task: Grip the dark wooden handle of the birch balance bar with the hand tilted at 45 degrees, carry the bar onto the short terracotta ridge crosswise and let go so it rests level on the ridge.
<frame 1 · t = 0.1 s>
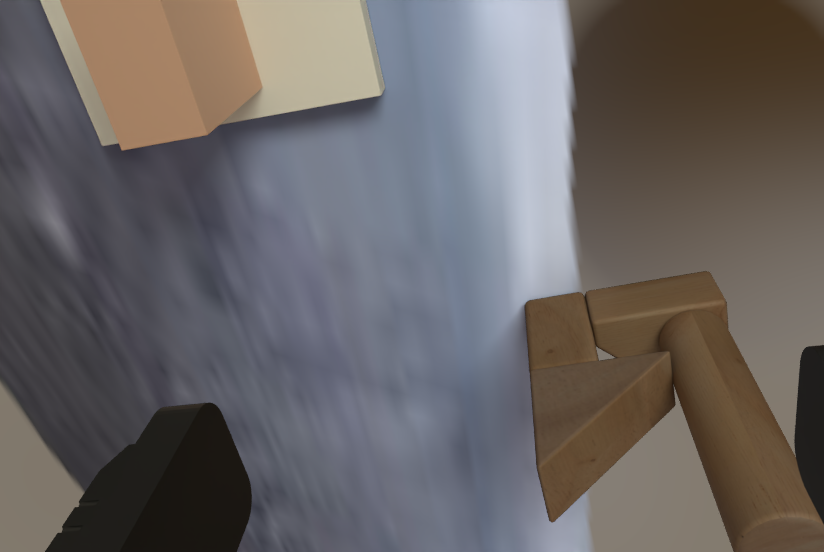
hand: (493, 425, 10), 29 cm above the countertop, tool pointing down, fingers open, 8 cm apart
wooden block: (617, 307, 42), on the countertop
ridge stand: (211, 10, 36), on the countertop
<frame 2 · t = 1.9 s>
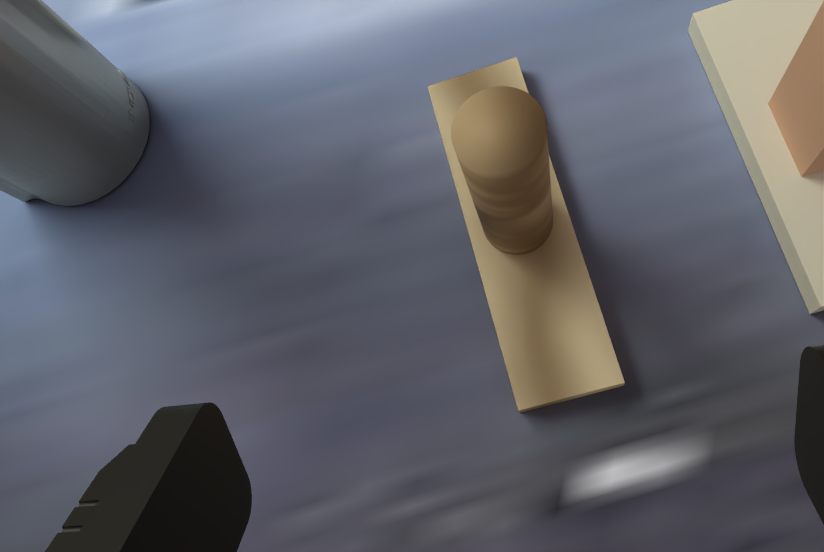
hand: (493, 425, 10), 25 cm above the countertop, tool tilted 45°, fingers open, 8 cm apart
balance bar: (519, 231, 36), on the countertop
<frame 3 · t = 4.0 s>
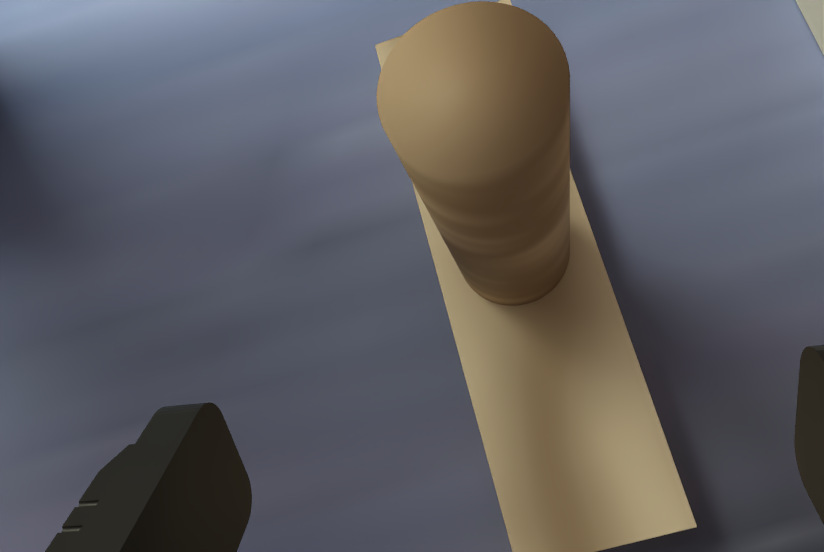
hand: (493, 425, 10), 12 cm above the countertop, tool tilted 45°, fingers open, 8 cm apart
balance bar: (516, 264, 23), on the countertop
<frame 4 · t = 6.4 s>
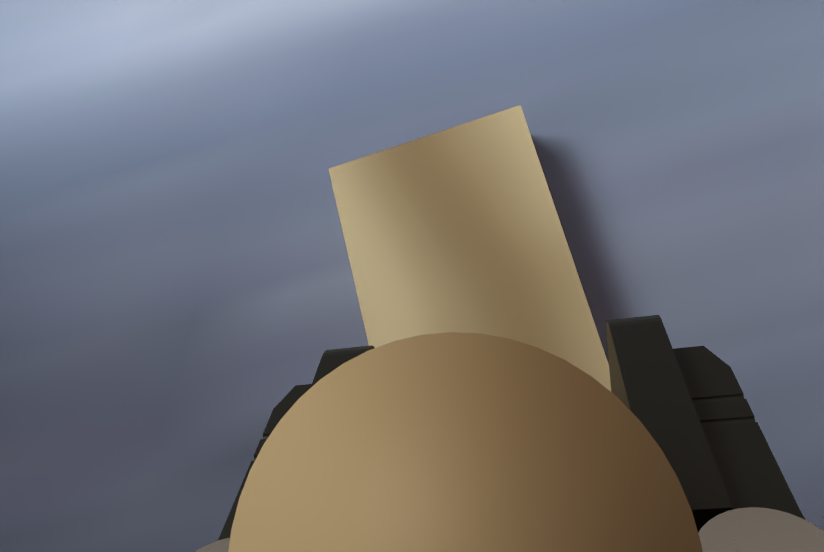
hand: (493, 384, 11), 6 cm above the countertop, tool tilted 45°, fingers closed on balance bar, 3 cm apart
balance bar: (531, 506, 16), on the countertop, touching gripper
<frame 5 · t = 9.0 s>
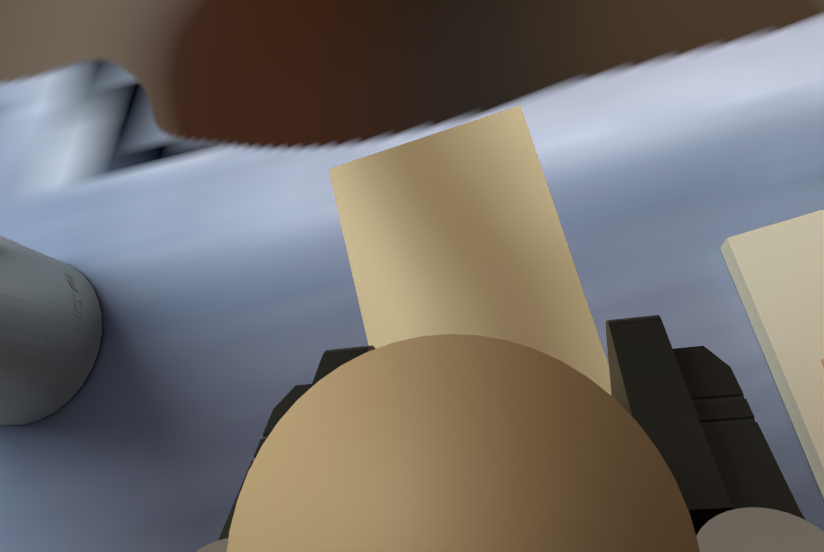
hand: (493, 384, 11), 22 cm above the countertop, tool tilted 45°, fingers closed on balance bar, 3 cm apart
balance bar: (531, 507, 16), point 16 cm above the countertop, touching gripper
when the fingers open (17 cm above the countertop, at t = 11.7 s): balance bar drops 1 cm, resting on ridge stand.
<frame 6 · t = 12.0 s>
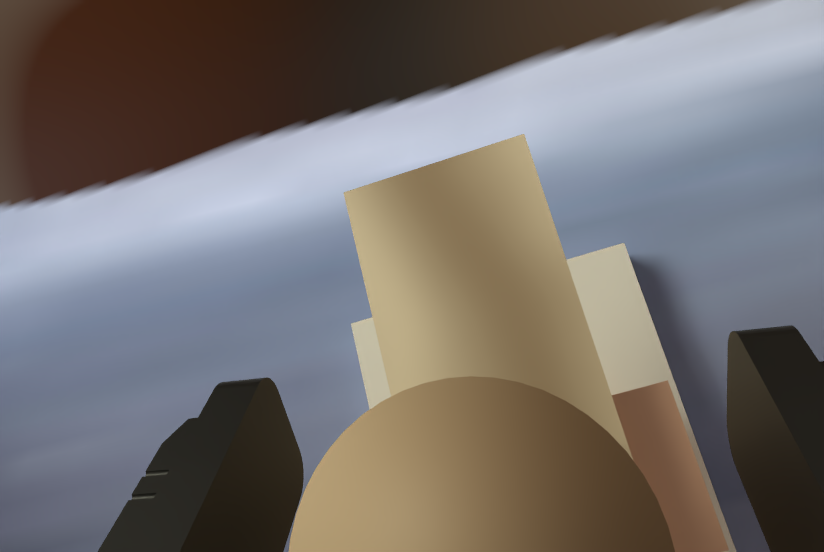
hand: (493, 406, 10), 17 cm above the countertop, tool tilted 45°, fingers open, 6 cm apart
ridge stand: (545, 493, 26), on the countertop
balance bar: (534, 510, 17), point 9 cm above the countertop, touching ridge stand
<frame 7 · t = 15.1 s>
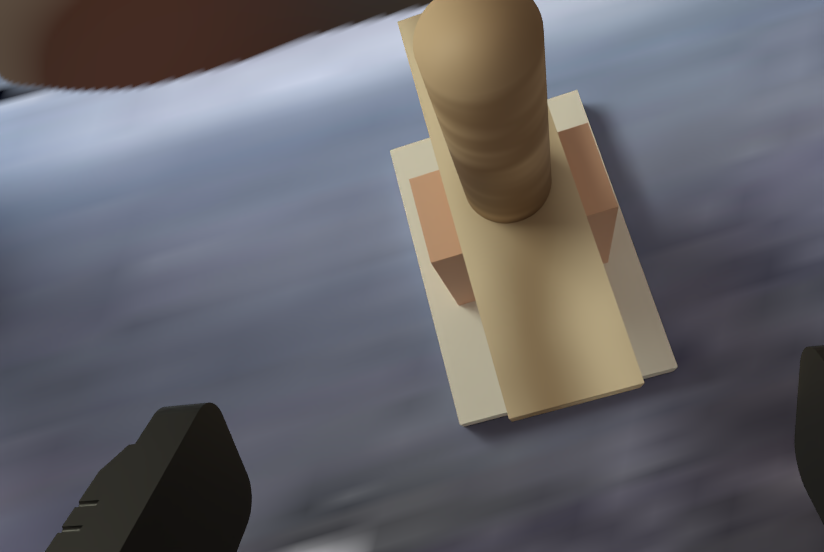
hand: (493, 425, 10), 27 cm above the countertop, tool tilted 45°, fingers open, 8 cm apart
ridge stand: (523, 257, 38), on the countertop
balance bar: (510, 196, 29), point 9 cm above the countertop, touching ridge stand
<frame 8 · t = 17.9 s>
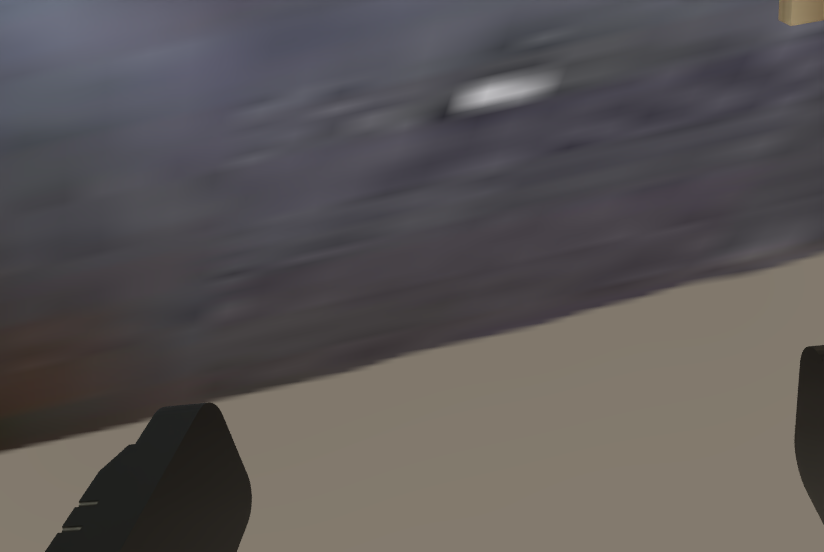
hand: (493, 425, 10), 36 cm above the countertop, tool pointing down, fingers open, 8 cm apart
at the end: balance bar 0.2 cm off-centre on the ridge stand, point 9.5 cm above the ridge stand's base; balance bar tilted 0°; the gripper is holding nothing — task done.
